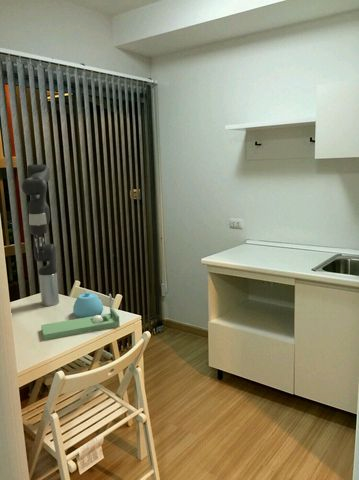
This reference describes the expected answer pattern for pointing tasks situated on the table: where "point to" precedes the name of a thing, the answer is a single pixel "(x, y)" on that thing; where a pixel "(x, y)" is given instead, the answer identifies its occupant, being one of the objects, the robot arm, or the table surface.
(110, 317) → the flag pin
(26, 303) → the table surface
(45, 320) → the table surface
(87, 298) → the sugar bowl
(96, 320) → the ball
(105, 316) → the mini golf green
